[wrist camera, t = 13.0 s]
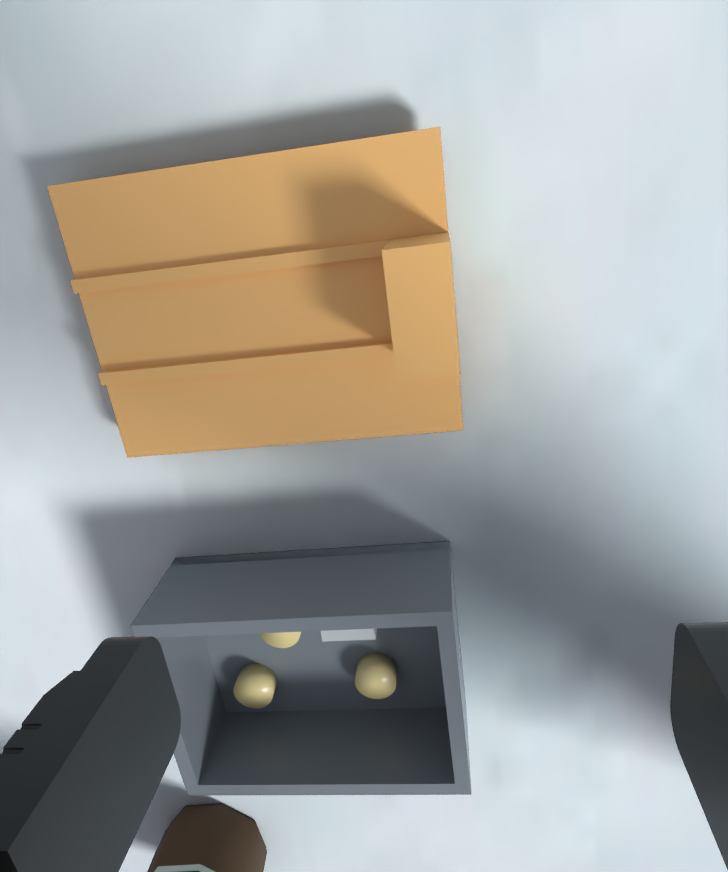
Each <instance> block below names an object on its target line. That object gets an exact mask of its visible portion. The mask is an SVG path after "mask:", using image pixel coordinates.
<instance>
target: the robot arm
mask: <svg viewBox="0 0 728 872" xmlns="http://www.w3.org/2000/svg"><path fill="white" fill-rule="evenodd" d="M670 708H671V720H672V726H673V732H674V736H675V740H676V744H677V747H678V750H679V752H680V755H681V757H682V760H683V762H684V765H685V767H686V770H687V772H688V774H689V777H690V779H691V782H692V784H693V787H694V789H695V791H696V794H697V796H698V799H699V801H700V804H701V806H702V808H703V811H704V813H705V816H706V818H707V821H708V823H709V825H710V828H711V830H712V833H713V835H714V838H715V840H716V843H717V845H718V847H719V850H720V852H721V855H722V857H723V860H724V862H725V864H726V867H727V869H728V622H713V623H680V624H679V625H678V626H677V628H676V632H675V643H674V657H673V672H672V687H671V704H670ZM180 727H181V713H180V707H179V703H178V700H177V696H176V693H175V690H174V687H173V683H172V680H171V677H170V673H169V670H168V667H167V664H166V660H165V657H164V654H163V650H162V647H161V645H160V643H159V641H158V640H157V639H156V638H155V637H152V636H145V637H111V638H107V639H105V640H104V641H103V642H102V643H101V644H100V645H99V646H98V648H97V649H96V650H95V652H94V653H93V655H92V656H91V657H90V659H89V660H88V661H87V663H86V664H85V666H84V667H83V668H82V670H81V671H73V672H72V673H71V674H69V675H68V676H67V677H66V678H64V679H63V680H62V681H61V682H59V683H58V684H57V685H56V686H54V687H53V688H52V689H51V690H50V691H48V692H47V693H46V694H45V695H43V697H42V698H41V699H40V701H39V702H38V703H37V704H36V706H35V707H34V708H33V710H32V711H31V712H30V714H29V715H28V716H27V718H26V719H25V720H24V721H23V723H22V728H21V730H17V731H16V732H15V733H14V734H13V736H12V737H11V738H10V740H9V741H8V742H7V744H6V745H5V746H4V748H3V749H4V750H3V753H2V754H0V872H118V871H119V869H120V867H121V865H122V863H123V861H124V859H125V856H126V854H127V852H128V850H129V848H130V846H131V844H132V841H133V839H134V837H135V835H136V833H137V831H138V828H139V826H140V824H141V822H142V820H143V818H144V816H145V813H146V811H147V809H148V807H149V805H150V803H151V800H152V798H153V796H154V794H155V792H156V790H157V788H158V785H159V783H160V781H161V779H162V777H163V775H164V773H165V770H166V768H167V766H168V764H169V762H170V760H171V757H172V755H173V753H174V751H175V749H176V746H177V743H178V739H179V734H180Z"/></svg>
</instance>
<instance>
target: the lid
mask: <svg viewBox="0 0 728 872" xmlns="http://www.w3.org/2000/svg"><path fill="white" fill-rule="evenodd" d="M47 188H48V191H49V194H50V198H51V201H52V205H53V208H54V211H55V215H56V218H57V221H58V225H59V228H60V232H61V235H62V238H63V242H64V245H65V248H66V252H67V255H68V259H69V262H70V265H71V269H72V272H73V275H74V280H70V282H71V286H72V289H73V292H74V294H77V293H79V296H80V299H81V302H82V306H83V309H84V313H85V316H86V319H87V323H88V326H89V329H90V333H91V336H92V340H93V343H94V346H95V350H96V353H97V356H98V360H99V363H100V367H101V370H102V371H101V372H100V373H98V376H99V379H100V383H101V386H102V385H106V387H107V390H108V394H109V397H110V400H111V404H112V407H113V410H114V414H115V417H116V421H117V424H118V427H119V431H120V434H121V437H122V441H123V444H124V448H125V451H126V454H127V458H128V457H140V456H152V455H165V454H177V453H189V452H202V451H214V450H226V449H239V448H251V447H264V446H276V445H288V444H301V443H313V442H325V441H338V440H350V439H362V438H375V437H387V436H399V435H412V434H424V433H436V432H449V431H461V430H463V419H462V406H461V393H460V380H459V374H460V363H459V350H458V336H457V323H456V310H455V297H454V284H453V271H452V257H451V244H450V238H449V234H448V223H447V210H446V197H445V184H444V171H443V158H442V145H441V132H440V127H435V128H429V129H422V130H415V131H409V132H402V133H395V134H389V135H382V136H375V137H369V138H362V139H356V140H349V141H342V142H336V143H329V144H322V145H316V146H309V147H302V148H296V149H289V150H282V151H276V152H269V153H263V154H256V155H249V156H243V157H236V158H229V159H223V160H216V161H209V162H203V163H196V164H189V165H183V166H176V167H170V168H163V169H156V170H150V171H143V172H136V173H130V174H123V175H116V176H110V177H103V178H97V179H90V180H83V181H77V182H70V183H63V184H57V185H50V186H47Z"/></svg>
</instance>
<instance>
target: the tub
mask: <svg viewBox="0 0 728 872" xmlns="http://www.w3.org/2000/svg"><path fill="white" fill-rule="evenodd" d="M131 629H132V632H133V635H134V637H145V636H152V637H155V638H156V639H157V640H158V641H159V643H160V645H161V647H162V650H163V654H164V657H165V660H166V664H167V667H168V670H169V673H170V677H171V680H172V683H173V687H174V690H175V693H176V696H177V700H178V703H179V707H180V713H181V727H180V734H179V739H178V743H177V746H176V749H175V751H174V756H175V759H176V761H177V764H178V767H179V770H180V773H181V776H182V779H183V782H184V785H185V788H186V791H187V794H188V795H450V794H471V780H470V763H469V746H468V729H467V712H466V700H465V690H464V680H463V670H462V660H461V650H460V640H459V630H458V620H457V609H456V599H455V589H454V579H453V569H452V559H451V549H450V541H444V542H428V543H412V544H396V545H379V546H363V547H347V548H331V549H314V550H298V551H282V552H266V553H249V554H233V555H217V556H201V557H184V558H175V560H174V561H173V563H172V564H171V566H170V567H169V569H168V570H167V572H166V573H165V575H164V576H163V578H162V579H161V581H160V582H159V584H158V585H157V587H156V588H155V590H154V591H153V593H152V594H151V596H150V597H149V599H148V600H147V602H146V603H145V605H144V606H143V608H142V609H141V611H140V612H139V614H138V615H137V617H136V618H135V620H134V621H133V623H132V624H131Z"/></svg>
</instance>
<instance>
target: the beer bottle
mask: <svg viewBox="0 0 728 872" xmlns="http://www.w3.org/2000/svg"><path fill="white" fill-rule="evenodd" d="M266 854H267V850H266V846H265V844H264V841H263V839H262V836H261V834H260V832H259V829H258V827H257V825H256V822H255V820H253V819H251V818H249V817H247V816H245V815H243V814H241V813H239V812H237V811H235V810H233V809H231V808H229V807H228V806H226V805H224V804H222V803H219V804H205V805H191V806H185V807H184V808H183V809H182V810H181V812H180V813H179V814H178V815H177V817H176V818H175V819H174V821H173V822H172V823H171V824H170V826H169V827H168V828H167V830H166V831H165V833H164V835H163V837H162V840H161V842H160V844H159V846H158V848H157V850H156V852H155V854H154V857H153V859H152V862H151V864H150V867H149V869H148V872H263V870H264V865H265V859H266Z"/></svg>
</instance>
